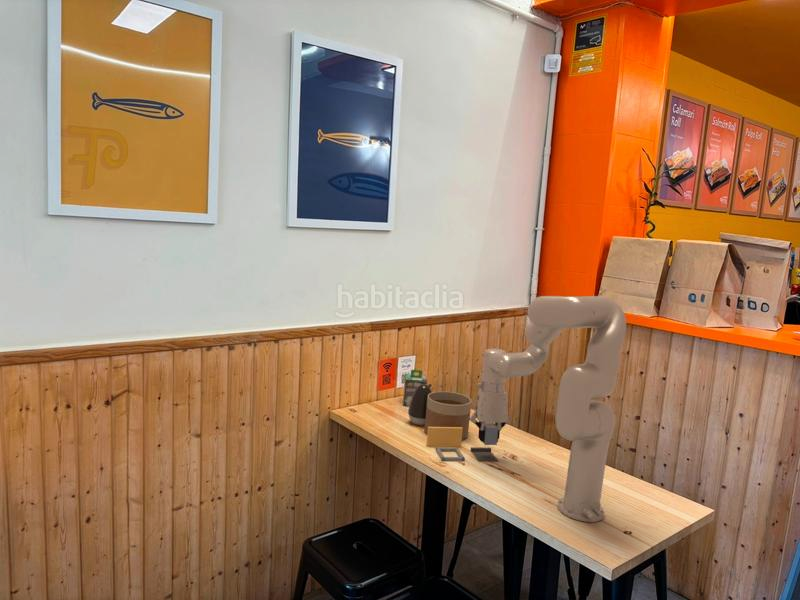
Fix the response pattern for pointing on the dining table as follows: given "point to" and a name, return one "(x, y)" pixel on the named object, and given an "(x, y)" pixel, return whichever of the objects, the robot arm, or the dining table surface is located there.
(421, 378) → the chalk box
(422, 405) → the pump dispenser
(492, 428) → the plug
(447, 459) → the port
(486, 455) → the dark grey lipped plate
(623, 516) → the dining table surface
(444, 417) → the planter
